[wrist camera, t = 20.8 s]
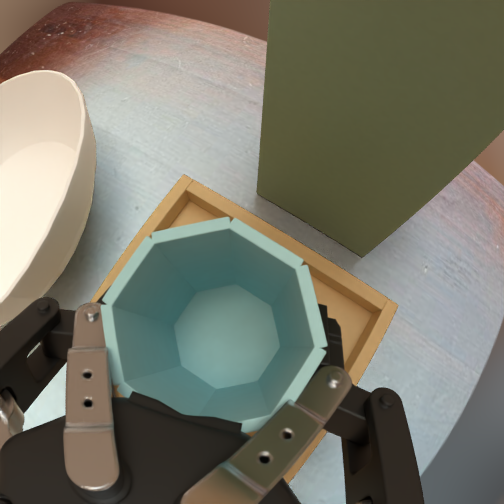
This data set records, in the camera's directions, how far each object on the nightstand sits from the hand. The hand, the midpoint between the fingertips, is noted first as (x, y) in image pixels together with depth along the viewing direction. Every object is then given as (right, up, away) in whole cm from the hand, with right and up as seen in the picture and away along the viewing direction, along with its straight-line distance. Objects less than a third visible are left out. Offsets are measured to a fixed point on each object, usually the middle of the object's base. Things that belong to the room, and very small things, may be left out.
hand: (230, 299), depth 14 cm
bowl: (-17, +4, +6) cm, 18 cm away
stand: (+7, +7, +7) cm, 12 cm away
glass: (0, -3, +3) cm, 4 cm away
